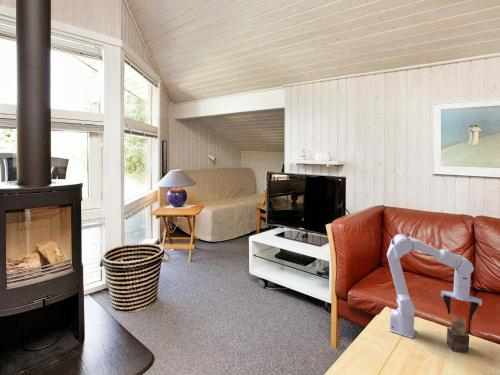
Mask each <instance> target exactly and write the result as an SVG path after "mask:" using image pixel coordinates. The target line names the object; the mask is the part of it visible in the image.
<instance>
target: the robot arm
mask: <svg viewBox="0 0 500 375" xmlns="http://www.w3.org/2000/svg"><path fill="white" fill-rule="evenodd" d="M411 251H412V252H415V251H421V252H423V253H426V254H428V255H430V256H433V257H435V258H436V260H437V261H438V262H439V263H442V264H444V265H446V266H448V267H451V268H453V269H454V274H453V291H449V290H441V291H440V297H443V302H444V304H445V305H446V309H447V314H448V315H451V310H452V309H451V308H452V306H451V302H452V299H454V300H458V301H462V302H463V301H464V302H468V303H471V304H470V312H469V318H468V319H469V321H472V319H473V315H474V313H475V312H476V310H478V308H479V306H483V305H482V304H483V299H482V298H478V297H475V296H472V295H470V290H471V279H472V278H471V274H472V273H473V272H474V270H475V268H474V265H473V263H472V262H471V261H470V260H469V259H467V258H466V257H464V256H463V255H461V254H455V253H453V252H452V251H451V250H450V249H448V248H446V249H444V248H440V249H438V248H435V247H433V246H431V245H430V244H428V243H424V241H421V240H419V239H416V238H414V237H412V236H408V235H407V236H406V234H404V233H398V234H396V235H394V236H393V237H392V238H391V240H390V245H389V247H388V249H387V252H386V257H387V260H388V266H389V269H390V272H391V276H392V280H393V284H394V287H395V291H396V304H397V306H398V307H397V308H396V309H393V308H392V310H391V313H390V322H389V332H391V333H394V334H397V335H400V336H404V337H408V338H410V339H414V336H415V334H416V331H417V330H416V328H415V314H416V310H417V309H416V306H415V305H414V303H413V302H412V299H411V296H410V293H409V290H408V288H407V287H408V286H407V283H406V279H405V276H404V273H403V272H404V271H403V268H402V264H401V260H400V259H401V258H402V257H403V256H405V255H406V254H407V253H410V252H411Z"/></svg>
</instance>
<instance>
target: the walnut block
mask: <svg viewBox="0 0 500 375" xmlns="http://www.w3.org/2000/svg"><path fill="white" fill-rule="evenodd" d="M466 325H467V319H465V318H462V317H458V316H454V315H453V316H452V319H451V326H450V327H451V332H453V333H456V334H460V335H463V336H464V335H465V332H466V329H467V328H466Z"/></svg>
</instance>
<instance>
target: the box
mask: <svg viewBox="0 0 500 375" xmlns="http://www.w3.org/2000/svg"><path fill="white" fill-rule="evenodd" d="M446 328H447V330H446V344H447V346H448V347H449V348H450V349H451V351H452V352H455V353H456V352H458V353H466V354H467V353H468V354H469V349H470V348H469V345H470V335H469V334H468V333H467V332H466V331H465V335H464V336H463V335H460V334H456V333H453V332H451V326H448V327H446Z"/></svg>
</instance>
